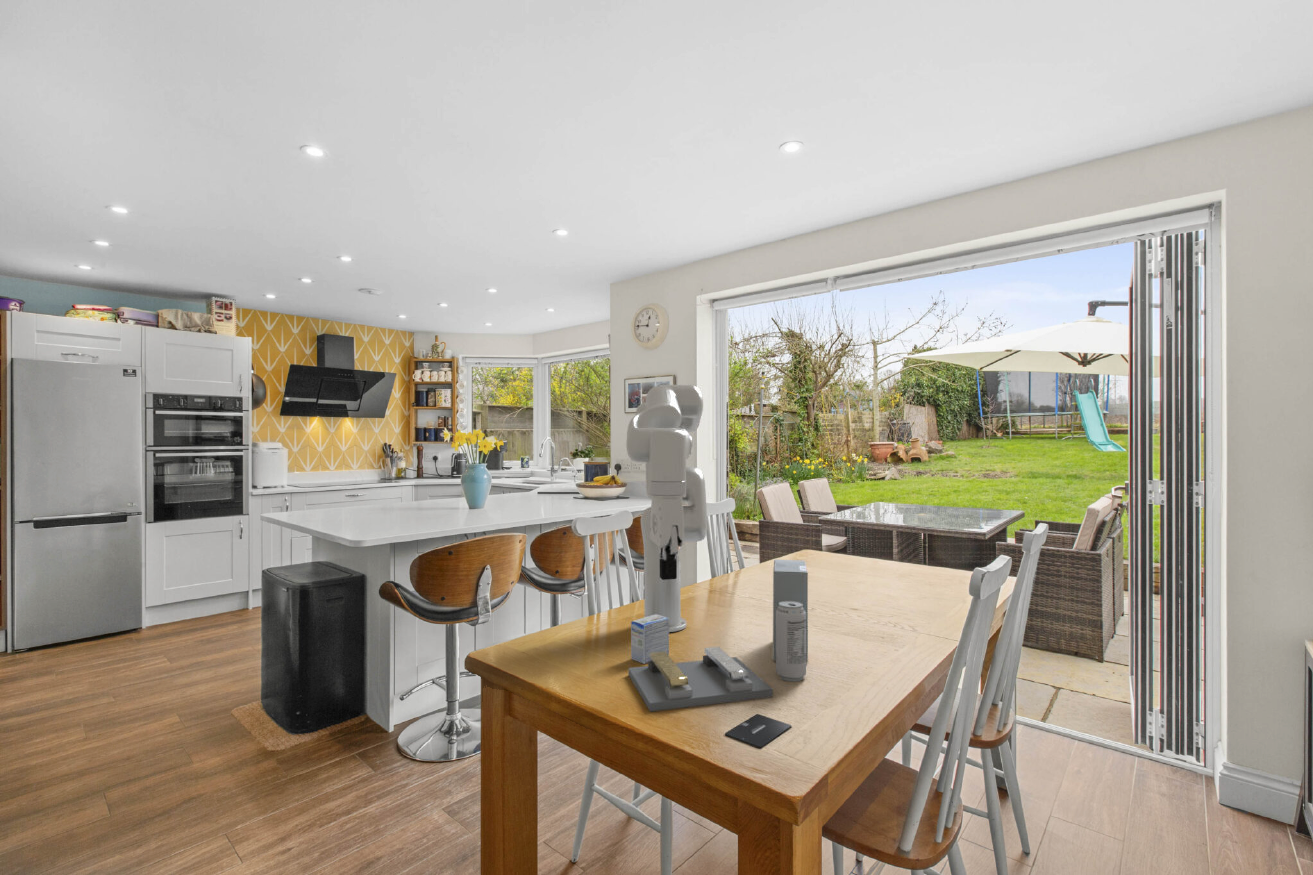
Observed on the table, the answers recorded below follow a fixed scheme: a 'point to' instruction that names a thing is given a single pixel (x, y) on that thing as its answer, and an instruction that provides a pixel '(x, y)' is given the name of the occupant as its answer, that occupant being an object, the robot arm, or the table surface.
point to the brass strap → (669, 669)
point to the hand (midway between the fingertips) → (668, 578)
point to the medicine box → (649, 637)
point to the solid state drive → (758, 731)
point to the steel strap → (726, 663)
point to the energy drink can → (791, 641)
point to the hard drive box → (789, 590)
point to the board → (696, 685)
